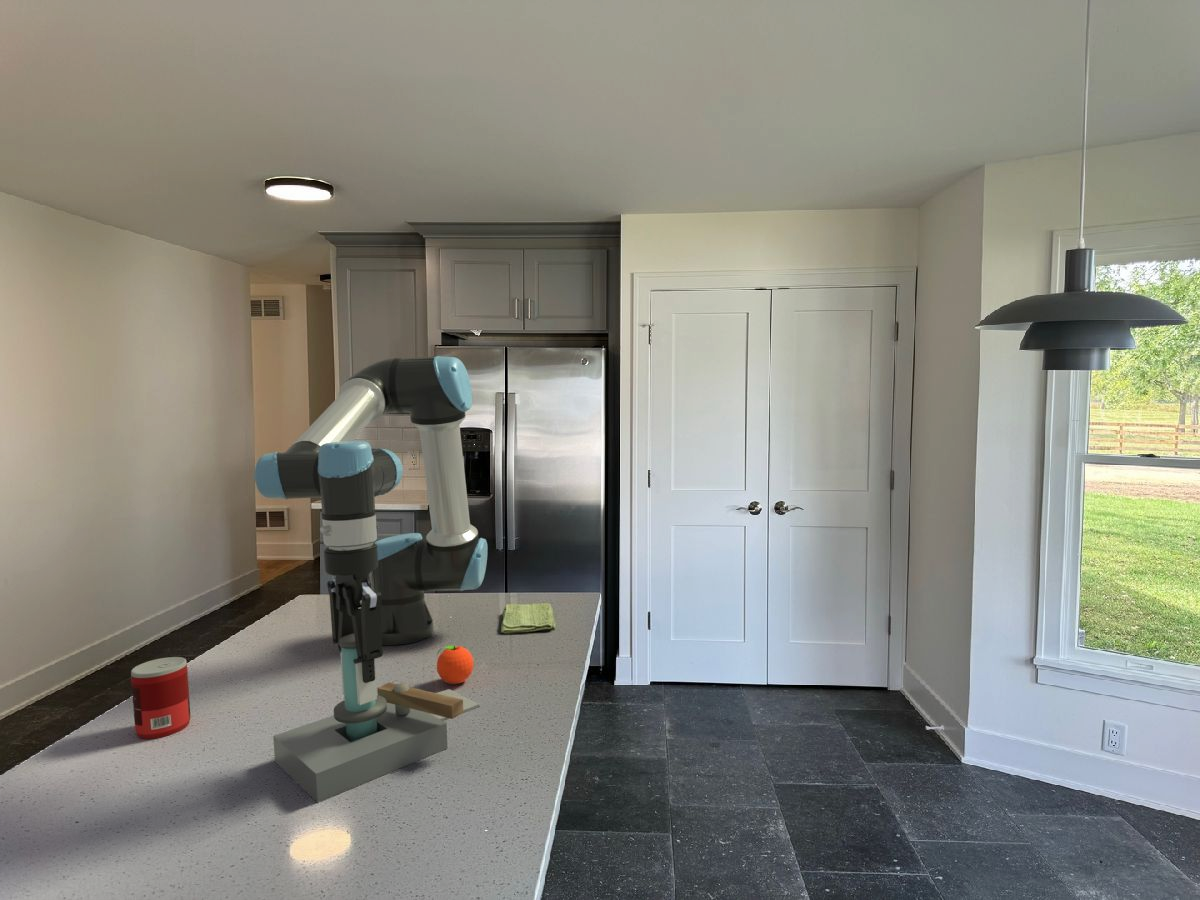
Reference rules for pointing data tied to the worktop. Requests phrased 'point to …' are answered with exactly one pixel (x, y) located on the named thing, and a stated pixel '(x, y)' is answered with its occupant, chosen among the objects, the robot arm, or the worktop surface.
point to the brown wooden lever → (420, 700)
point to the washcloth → (527, 618)
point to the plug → (349, 711)
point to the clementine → (454, 664)
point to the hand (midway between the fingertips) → (359, 696)
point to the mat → (467, 702)
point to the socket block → (356, 750)
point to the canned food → (160, 697)
